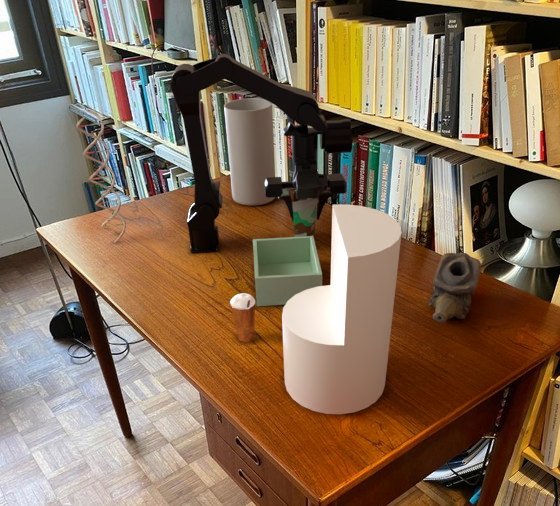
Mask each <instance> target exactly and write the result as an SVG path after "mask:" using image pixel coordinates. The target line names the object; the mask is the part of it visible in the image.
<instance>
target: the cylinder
mask: <svg viewBox="0 0 560 506" xmlns="http://www.w3.org/2000/svg"><path fill="white" fill-rule="evenodd" d="M331 207H332V208H331V245H330V246H331V247H330V248H331V249H330V250H331V252H330V284H328V285H322V286H318V287H314V288H310V289H307V290H304V291H302V292H300V293H298V294H296V295H294V296H293V297H292V298H291V299H290V300H288V301H287V303H286V304H285V305H284V306H283V307H282V313H281V322H282V323H281V325H282V327H281V329H282V349H283V352H282V353H283V375H284V377H283V378H284V386H285V390H286V392H287V393H288V395H289V396H290V397H291V399H292V400H293V401H295V402H296V403H297V404H298V405H300V406H301V407H303V408H306V409H308V410H310V411H312V412H317V413H321V414H325V415H345V414H351V413H356V412H359V411H362V410H364V409H367V408H369V407H371V406H372V405H373V404H375V403H376V402H377V401H378V400H379V399H380V397H381V396H382V395H383V392H384V390H385V386H386V379H387V378H386V377H387V369H388V360H389V352H390V351H389V350H390V343H391V334H392V333H391V332H392V325H393V314H394V306H395V305H394V304H395V297H396V287H397V278H398V269H399V262H400V261H399V260H400V251H401V243H402V242H401V241H402V233H403V232H402V228H401V225H400V223H399V222H398V221H397V220H396V219H395V218H394V217H392V216H391V215H390V214H388V213H387V212H384V211H381V210H378V209H376V208H372V207H368V206H363V205H355V204H332V206H331Z"/></svg>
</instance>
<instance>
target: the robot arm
mask: <svg viewBox="0 0 560 506" xmlns="http://www.w3.org/2000/svg"><path fill="white" fill-rule="evenodd" d="M224 80H226V81H227V82H229V83H232V84H233V85H236V86H238V87H239V88H241V89H243V90H246V92H249V93H251V94H254V95H255V96H257V97H259V98H260V99H265V100H267V101H269V102H271V103H272V105H274V106H276V107H277V108H278V109H279V110H280V111H282V112H283V114H285V115H286V116H287V117H289V118H290V119H291V121H289V122H288V124H287V125H285V127H284V128H282V131H283V136H284V137H291V153H292V154H291V156H292V159H291V160H292V163H291V164H292V166H291V167H292V180H291V181H282V176H275V177H268V178H266V179H265V195H266V197H268V198H271V197H275V198H278V200H279V201H283V202H284V204H285V205H286V208H287V210H288V213H289V215H290V218H291V221H292V223H294V218H293V198H292V195H291V191H293V190H297V197H298V198H299V199H305V198H312V199H315V198H318V197H319V202H318V203H317V204H316V221H319V220H320V218H321V215H322V212H323V209H324V207H325V204H326V203H327V201H328V200H329V199H330V198H333V197H335V195H341V194H342V195H343V194H347V191H348V190H347V188H348V185H347V184H348V183H347V180H346V177H345V175H344V174H343V173H328V174H327V173H322V174H321V173H319V170H318V168H319V166H318V165H319V163H318V162H319V160H318V159H319V158H318V157H319V147H320V150H323V151H324V152H325V155H329V154H349V153H352V150H353V144H354V143H353V134H352V133H353V132H352V121H351V119H349V118H344V119H343V118H342V119H340V120H326V118H325V116H324V115H323V114H322V113H321V112H320V106H319V103H318V101H317V99H316V97H315V95H314V93H312V92H311V91H309V90H306V89H303V88H299V87H296V86H291V85H286V84H282V83H280V82H278V81H277V80H274V79H272V78H270V77H269V76H266V75H265V74H263V73H261V72H259V71H258V70H256V69H254V68H252V67H250V66H248V65H246V64H244V63H242V62H241V61H238V60H236V59H234V58H233V57H232V56H231V55H229V54H227V53H221V54H219V55H217V56H215V57H213V58H209V59H206V60H202V61H199V62H196V63H195V64H190V63H181V64H179V65H178V66H176V68H175V69H174V71H173V73H172V76H171V78H170V90H171V93H172V95H173V98H174V101H175V104H176V106H177V109H178V111H179V113H180V115H181V117H182V121H183V126H184V132H185V136H186V142H187V149H188V153H189V159H190V163H191V169H192V174H193V175H192V176H193V180H194V194H193V195H194V197H193V199H194V203H193V204H192V205H191V206H190V207H189V209H188V214H187V215H188V216H187V221H186V225H187V230H188V236H189V242H190V249H189V250H190V253H191V254H196V253H214V252H218V247H219V246H220V233H219V225H216V221H215V220H216V219H217V218H218V217H219V216H220V209H222V208H223V198H224V197H223V195H222V192H221V181H220V180H218V181H214V178H213V177H212V174H211V168H210V162H209V156H208V149H207V144H206V139H205V138H206V137H205V132H204V125H203V119H202V114H201V103H202V102H201V100H202V99H201V98H202V91H204V90H206V89H208V88H210V87H212V86H214V85H216V84H217V83H219V82H222V81H224ZM292 121H294V123H296V124H294V123H293V122H292ZM319 145H320V146H319Z"/></svg>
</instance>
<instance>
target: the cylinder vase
mask: <svg viewBox="0 0 560 506" xmlns="http://www.w3.org/2000/svg"><path fill="white" fill-rule="evenodd" d="M223 110H224V121H225V131H226V132H225V133H226V142H227V143H226V145H227V155H228V164H229V175H230V187H231V196H232V200H233V201H234V202H235V203H237V204H239V205H243V206H247V207H248V206H251V207H254V206H255V207H256V206H262V205H266V204H269V203H270V202H272V201H274V200H275V198H276V197H271V198H268V197H266V195H265V179H266V178H268V177H276V161H275V160H276V159H275V139H274V118H273V117H274V114H273V112H274V111H273V103H271V102H269V101H267V100H265V99H263V98H257V97H255V98H253V97H247V98H239V99H234V100H230V101H227V102H226V103H225V104H223Z"/></svg>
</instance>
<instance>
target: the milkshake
mask: <svg viewBox="0 0 560 506" xmlns="http://www.w3.org/2000/svg"><path fill="white" fill-rule="evenodd" d="M229 303H230V307H231V312H232V317H233V323H234V327H235V332H236V333H235V334H236V338H237V339H238V340H239V342H242V343H249V342H252V341H253V340H254V339H255V336H256V335H255V334H256V333H255V330H256V328H255V327H256V325H255V323H256V321H255V316H256V315H255V314H256V298H254V296H253V295H251V294H250V293H245V292H242V293H238V294H236V295H234V296H233V297H232V298H231V299H230V302H229Z"/></svg>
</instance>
